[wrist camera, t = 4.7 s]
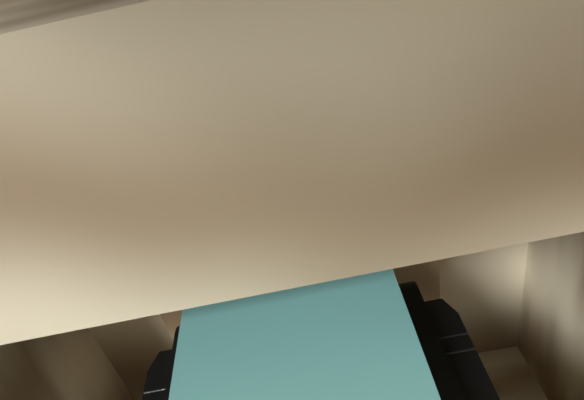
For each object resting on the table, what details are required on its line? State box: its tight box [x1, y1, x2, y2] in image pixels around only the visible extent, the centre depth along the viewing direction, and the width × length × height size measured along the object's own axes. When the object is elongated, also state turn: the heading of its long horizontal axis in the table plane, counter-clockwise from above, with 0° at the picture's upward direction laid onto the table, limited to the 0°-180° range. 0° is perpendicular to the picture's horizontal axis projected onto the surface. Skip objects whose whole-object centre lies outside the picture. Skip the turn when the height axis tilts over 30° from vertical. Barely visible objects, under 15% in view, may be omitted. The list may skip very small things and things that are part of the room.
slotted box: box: [0, 0, 584, 400], centre depth 13 cm, size 17×17×7 cm
